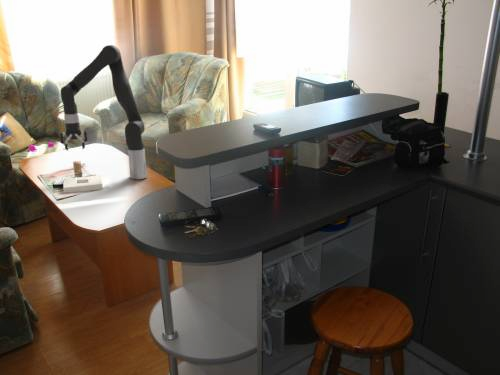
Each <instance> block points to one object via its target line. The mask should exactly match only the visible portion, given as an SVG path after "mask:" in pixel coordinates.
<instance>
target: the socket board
mask: <svg viewBox="0 0 500 375" xmlns="http://www.w3.org/2000/svg"><path fill="white" fill-rule="evenodd" d="M103 187H104V186H103V182H102V177H101V174H99V175H90V176H89V175H88V176H82V177H77V178H75V177H69V178H67V177H66V178H63V186H62V189H63V194H67V193H78V192H88V191H95V190H96V191H97V190H98V191H99V190H103Z"/></svg>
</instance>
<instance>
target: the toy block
mask: <svg viewBox="0 0 500 375" xmlns="http://www.w3.org/2000/svg"><path fill="white" fill-rule="evenodd" d="M47 144H48V145H47V147H48V148H54V147H55V145H54V142H51V141H49V142H48V143H47ZM28 149H29V151H30V152H31V153H35V152H37V151H38V149H37V148H36V146H35V145H33V144H31V145H29V146H28Z"/></svg>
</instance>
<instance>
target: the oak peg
mask: <svg viewBox="0 0 500 375" xmlns="http://www.w3.org/2000/svg"><path fill="white" fill-rule="evenodd" d="M72 164H73V166H72V167H73V172H74V178H76V177H83V172H82V162H81V160H77V161H73V163H72Z"/></svg>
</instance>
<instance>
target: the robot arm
mask: <svg viewBox="0 0 500 375" xmlns="http://www.w3.org/2000/svg"><path fill="white" fill-rule="evenodd" d="M107 66H108V67H109V70H110V73H111V80H112V81H111V82H112V87H113V91H114V94H115V97H116V100H117V102H118V104H119V105H120V106H121V108H122V109H123V111H124V112H125V115H126V118H127V121H128V123H126V125H125V126H124V135H125V136H124V137H125V143H126V146H127V153H128V165H129V166H128V167H129V176H130V177H129V178H131V179H132V180H142V179H147V178H148V174H147V173H148V172H147V161H146V151H145V144H144V142H143V140H142V135H143V133H144V132H145V124H144V121H143V118H142V117H141V114H140V112H139V109H138V106H137V104H136V99H135V97H134V93H133V89H132V87H131V84H130V81H129V78H128V76H127V74H126V71H125V68H124V64H123V60H122V55H121V51H120V49H119V48H118V47H117V46H116V45H112V44H110V45H105V46H104V47H103V48H102V50H101V51H100V52H99V54H97V56H96V57H94V59H93V60H92V61H91V62H90V63H89V64H88V65H87V66H86V67H85V68H83V69H82V70H81V71H79V73H78V74H76V75H75V76H74V77H73V79H72V80H71V81H69V82H68V83H67V84H66V85H64V86H62V87H61V89H60V98H61V103H62V105H63V114H64V115H63V116H64V125H65V132H63V131H60V134H59V135H60V143H61V144H64V149H65V150H66V151H69V147H68V142H69V141H70V140H79V141H80V142H81V147H82V150H84V149H85V148H86V144H85V143H86V142H88V135H87V131H86V130H81V128H80V127H81V126H80V119H79V113H78V105H77V103H76V101H75V96H76V95H77V94H78V93H79V92H80V91H81V90H82V89H84V88H85V87H86V86H87V85H89V83H91V81H92V80H94V78H95V77H96V76H97V75H98V74H99V72H101V71H102V70H103V69H104V68H105V67H107ZM65 135H66V139H65V140H64V137H65ZM81 135H83V136H84V139H83V137H82V136H81Z"/></svg>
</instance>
